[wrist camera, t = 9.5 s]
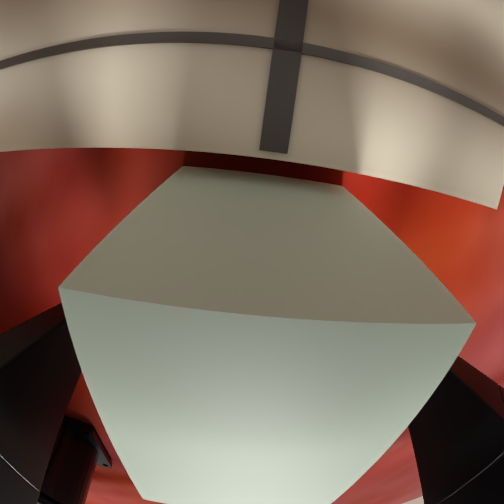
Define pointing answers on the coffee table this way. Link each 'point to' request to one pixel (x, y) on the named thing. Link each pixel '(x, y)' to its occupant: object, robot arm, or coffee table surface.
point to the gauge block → (256, 338)
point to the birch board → (266, 83)
